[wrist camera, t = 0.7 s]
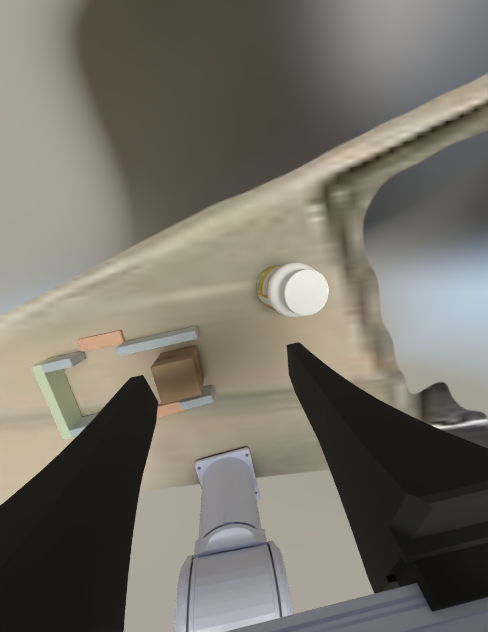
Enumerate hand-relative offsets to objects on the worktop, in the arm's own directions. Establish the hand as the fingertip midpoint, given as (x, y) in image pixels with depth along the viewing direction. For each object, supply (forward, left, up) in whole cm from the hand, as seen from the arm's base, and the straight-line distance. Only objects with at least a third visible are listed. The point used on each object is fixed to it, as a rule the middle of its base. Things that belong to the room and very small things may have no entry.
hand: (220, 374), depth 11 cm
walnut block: (-6, +6, -17) cm, 19 cm away
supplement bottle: (+2, -8, -17) cm, 19 cm away
